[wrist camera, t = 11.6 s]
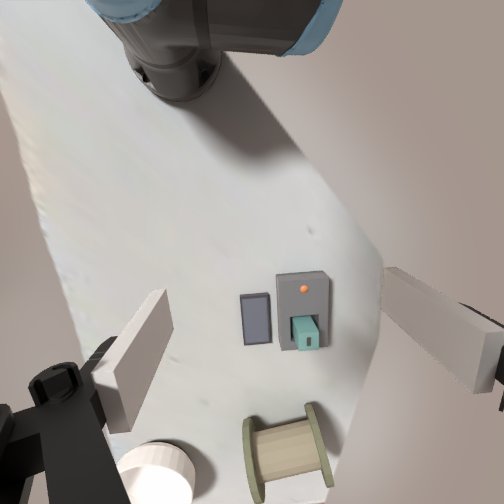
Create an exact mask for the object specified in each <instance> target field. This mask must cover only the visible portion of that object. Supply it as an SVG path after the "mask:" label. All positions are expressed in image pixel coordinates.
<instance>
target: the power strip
mask: <svg viewBox="0 0 504 504" xmlns="http://www.w3.org/2000/svg"><path fill="white" fill-rule="evenodd" d="M276 288H277V310H278V333H279V342H280V346H281V350H282V351H285V350H296V349H298V348H297V345H296V342H295V339H294V336H293V333H292V329H291V317H294V316H305V315H310V316H311V318H312V320H313V322H314V323H315V325H316V327H317V329H318V331H319V347H328V301H329V277H328V276H327V275H326V274H325V273H324V272H323V271H311V272H299V273H287V274H276Z"/></svg>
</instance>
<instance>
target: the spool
mask: <svg viewBox="0 0 504 504" xmlns="http://www.w3.org/2000/svg"><path fill="white" fill-rule="evenodd" d="M304 406H305V411H306V415H307V420H303V421H299V422H295V423H290V424H286V425H282V426H278V427H274V428H269V429H265V430H261V431H257V432H256V428H255V425H254V422H253V420H252V418H247V419H244V420H243V427H242V434H243V450H244V460H245V466H246V473H247V478H248V483H249V488H250V492H251V495H252V498H253V501H254V503H255V504H261V503H264V500H265V482H269V481H273V480H277V479H282V478H286V477H290V476H295V475H299V474H303V473H307V472H312V471H316V470H320V469H321V471H322V475H323V478H324V481H325V484H326V487H327V488H330V487H334V481H333V476H332V472H331V468H330V464H329V460H328V456H327V453H326V449H325V446H324V442H323V439H322V435H321V432H320V429H319V425H318V422H317V419H316V416H315V413H314V410H313V407H312V405H311V404H305V405H304Z"/></svg>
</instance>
